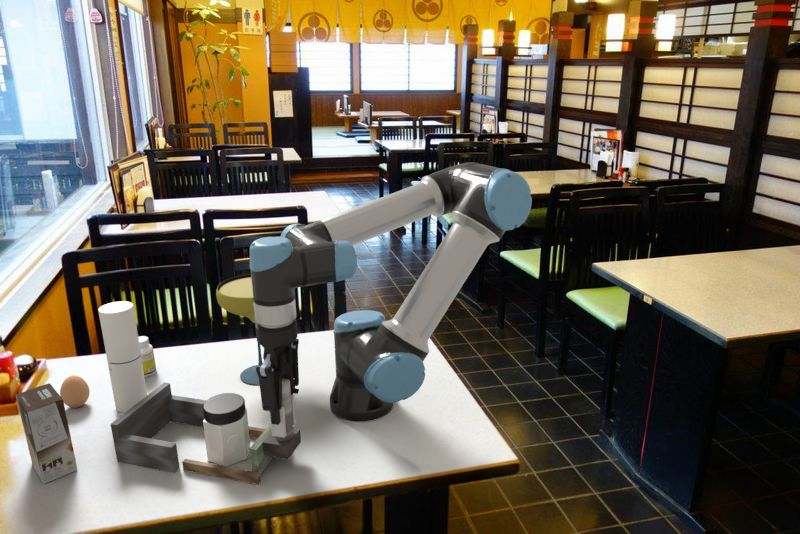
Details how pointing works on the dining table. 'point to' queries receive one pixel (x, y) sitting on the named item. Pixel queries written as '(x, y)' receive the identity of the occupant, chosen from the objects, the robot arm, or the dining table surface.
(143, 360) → the supplement bottle
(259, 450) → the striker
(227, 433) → the jar
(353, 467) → the dining table surface
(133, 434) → the lane
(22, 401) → the coffee box
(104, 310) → the cylindrical container
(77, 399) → the egg
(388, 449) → the dining table surface
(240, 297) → the cocktail glass
